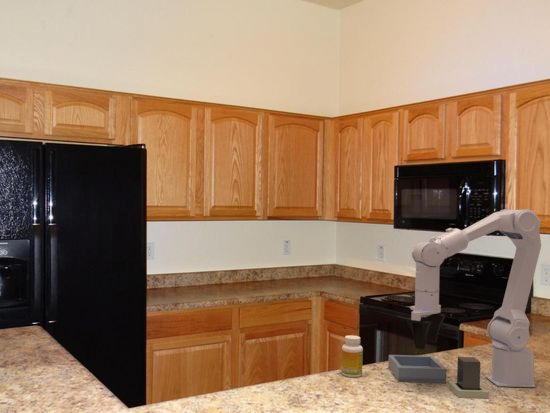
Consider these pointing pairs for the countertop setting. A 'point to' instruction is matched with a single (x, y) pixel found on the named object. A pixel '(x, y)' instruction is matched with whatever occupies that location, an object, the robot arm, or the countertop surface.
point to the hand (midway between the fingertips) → (425, 345)
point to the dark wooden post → (468, 373)
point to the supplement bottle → (352, 357)
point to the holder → (468, 392)
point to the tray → (417, 369)
